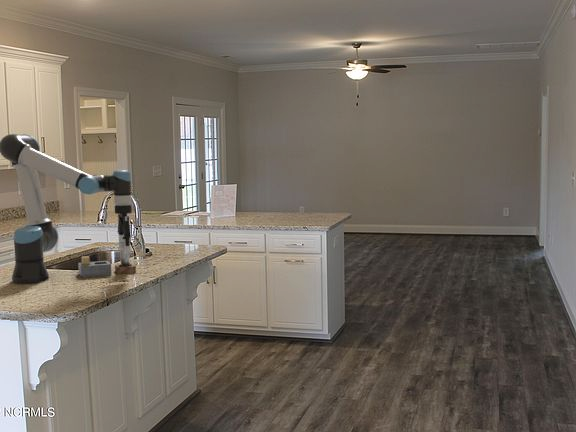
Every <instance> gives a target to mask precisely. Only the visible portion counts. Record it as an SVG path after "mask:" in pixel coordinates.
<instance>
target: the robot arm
mask: <svg viewBox="0 0 576 432" xmlns="http://www.w3.org/2000/svg"><path fill="white" fill-rule="evenodd" d="M0 155H1V156H2V157H3V158H4V159H5V160H6V161H10V164H11V166H12V168H13V169H15V170H16V173H17V178H18V179H17V180H18V183H19V188H20V192H21V196H22V201H23V205H24V211H25V214H26V215H25V216H26V220H27V222H26V223H25V225H24V226H21V227H18V228H16V229H15V230H14V232H13V243H14V248H13V249H14V261H15V262H14V263H15V265H14V268H13V272H12V274H11V282H12V283H13V284H20V283H26V284H36V283H35V282H37V283H42V282H41V281H43V282H46V281H48V280H49V278H50V277H49V276H50V275H49V272H48V269H47V267H46V264H45V261H44V260H45V259H44V253H45V252H48V251H51V250H52V249H53V248H54V247H56V246H57V244H58V242H59V233H58V230H57V229H56V228H55V227H54V225H53V222H52V220H51V219H50V218H48V215H47V210H46V206H45V201H44V196H43V191H42V187H41V182H40V178H39V173H38V172H41V173H43V174H45V175H47V176H49V177H51V178H54V179H56V180H58V181H61V182H62V183H65V184H68V185H69V186H71V187H74V188H76V189H78V190H79V191H80V192H81V193H82V194H84V195H94V194H96V193H101V192H102V193H103V192H105V193H106V192H108V193H109V192H113V201H114V213H115V214H117V215H118V216H117V219H118V220H117V234H118V249H119V250H120V242H121V241H124V253H129V254H131V238H132V235H131V227H130V226H131V225H130V217H129V215H128V214H131V213H132V212H133V211H132V210H133V207H132V200H133V197H132V179H131V178H132V177H131V173H130V171H129V170H127V169H126V170H123V169H121V170H114V171H112V174H89V173H86V172H84V171H82V170H79V169H77V168H75V167H73V166H71V165H69V164H67V163H65V162H62V161H59V160H58V159H55V158H54V157H52V156H49V155H47V154H46V153H43V152H41V147H40V144H39V142H38V140H37V139H36V138H35V137H33V136H31V135H30V134H25V133H23V134H22V133H21V134H20V133H19V134H16V133H15V134H14V133H11V134H6V135H5V136H4V137H2V139H1V140H0ZM45 280H46V281H45Z"/></svg>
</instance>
